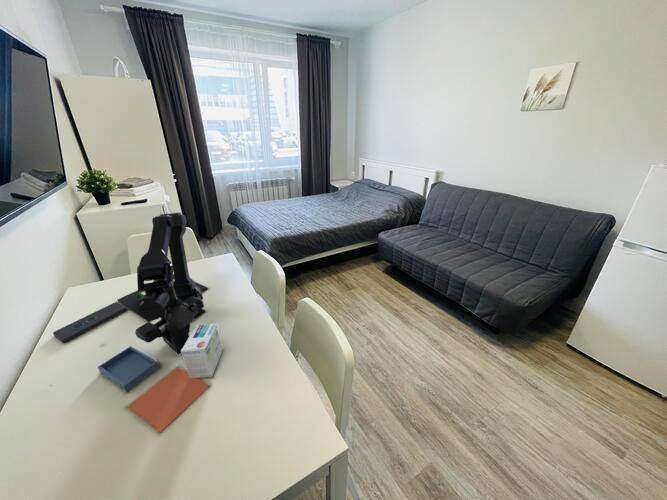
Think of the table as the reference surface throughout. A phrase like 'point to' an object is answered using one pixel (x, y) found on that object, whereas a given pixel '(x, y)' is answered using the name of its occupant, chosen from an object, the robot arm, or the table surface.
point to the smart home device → (89, 322)
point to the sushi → (136, 297)
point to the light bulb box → (202, 351)
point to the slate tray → (128, 368)
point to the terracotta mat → (168, 398)
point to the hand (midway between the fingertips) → (179, 338)
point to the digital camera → (176, 337)
